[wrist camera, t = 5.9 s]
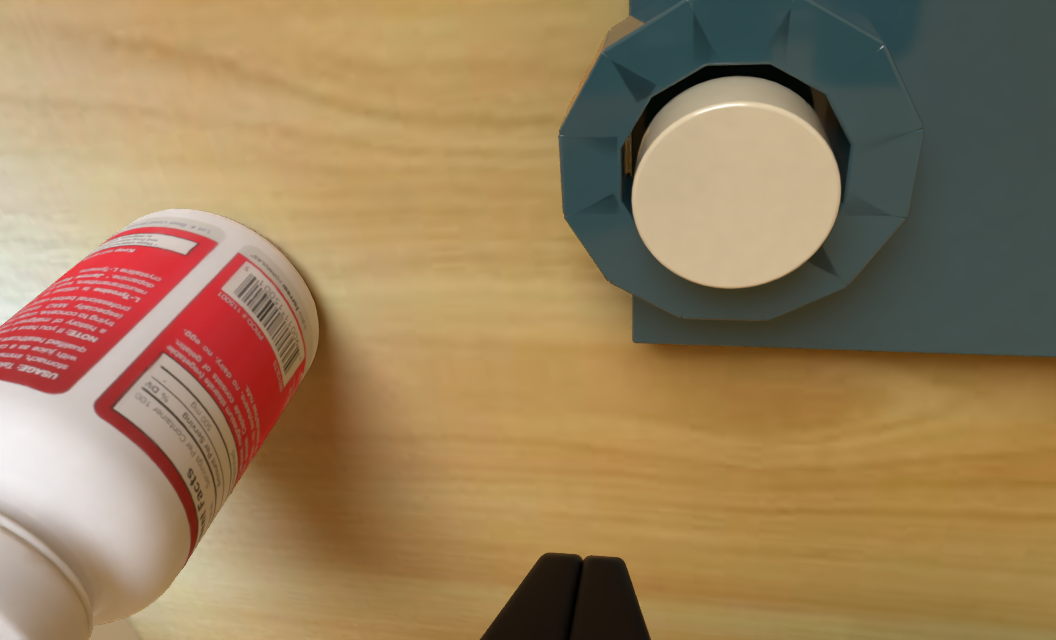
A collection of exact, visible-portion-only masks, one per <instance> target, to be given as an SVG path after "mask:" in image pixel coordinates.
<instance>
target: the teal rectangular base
mask: <svg viewBox="0 0 1056 640" xmlns="http://www.w3.org/2000/svg"><path fill="white" fill-rule="evenodd" d="M729 76H751V77H757V78H763V79H766V80H770V81H773V82H776V83H778V84H780V85H783V86H785V87H787V88H789V89H790V90H792V91H793V92H795V93H796V94H798V95H799V96H800V97H801V98H803V99H804V100H805V101H806V102H807V103H808V104H809V105H810V106H811V107H812V109H813V110H814V111H815V112H816V113H817V115H818V117H819V118H820V120H821V122H822V123H823V126H824V128H825V130H826V133H827V135H828V138H829V141H830V144H831V147H832V150H833V152H834V155H835V158H836V161H837V164H838V168H839V172H840V177H841V188H842V189H841V202H840V207H839V211H838V215H837V218H836V220H835V223H834V226H833V227H832V229H831V231H830V233H829V235H828V237H827V238H826V240H825V241H824V242H823V244H822V245H821V247H820V248H819V249H818V250H817V251H816V252H815V253H814V254H813V255H812V256H811V257H810V258H809V259H808V260H807V261H806V262H805V263H803V264H802V265H801V266H800V267H798V268H797V269H795V270H794V271H792V272H791V273H789V274H787V275H785V276H783V277H781V278H779V279H776V280H774V281H771V282H768V283H766V284H762V285H758V286H754V287H747V288H736V289H725V288H714V287H709V286H704V285H700V284H697V283H694V282H691V281H689V280H687V279H684V278H682V277H680V276H678V275H677V274H675V273H673V272H672V271H670V270H669V269H668V268H666V267H665V266H664V265H662V264H661V263H660V262H659V261H658V260H657V259H656V258H655V257H654V256H653V255H652V254H651V252H650V251H649V250H648V248H647V247H646V246H645V244H644V243H643V241H642V239H641V237H640V235H639V233H638V231H637V228H636V225H635V222H634V218H633V213H632V203H631V197H632V185H633V179H634V173H635V167H636V160H637V155H638V151H639V147H640V144H641V141H642V138H643V136H644V134H645V132H646V130H647V128H648V126H649V124H650V123H651V122H652V120H653V119H654V117H655V116H656V115H657V113H658V112H659V111H660V110H661V109H662V108H663V107H664V106H665V105H666V104H667V103H668V102H670V101H671V100H672V99H673V98H674V97H676V96H677V95H679V94H680V93H682V92H683V91H685V90H687V89H689V88H691V87H693V86H695V85H697V84H700V83H702V82H705V81H708V80H712V79H716V78H721V77H729ZM629 135H630V148H631V176H630V174H629V173H628V143H627V139H628V137H629ZM558 139H559V156H560V173H561V191H562V208H563V213H564V218H565V220H566V221H567V223H568V224H569V226H570V227H571V229H572V230H573V231H574V233H575V234H576V236H577V237H578V239H579V240H580V242H581V243H582V245H583V246H584V248H585V249H586V250H587V252H588V253H589V255H590V256H591V258H592V259H593V261H594V262H595V264H596V265H597V266H598V268H599V269H600V271H601V272H602V274H603V275H604V277H605V278H606V280H607V281H609V282H610V283H611V284H613V285H615V286H617V287H619V288H621V289H623V290H625V291H627V292H629V293H631V294H632V340H633V342H634V343H648V344H677V345H707V346H737V347H766V348H796V349H826V350H855V351H885V352H914V353H944V354H974V355H1003V356H1033V357H1056V0H629V17H628V18H626V19H625V20H623V21H621V22H620V23H618V24H617V25H615V26H614V27H612V28H611V30H609V31H608V32H607V34H606V36H605V38H604V40H603V42H602V44H601V45H600V47H599V49H598V51H597V53H596V55H595V57H594V59H593V61H592V62H591V64H590V66H589V68H588V70H587V72H586V74H585V76H584V78H583V79H582V81H581V83H580V85H579V87H578V89H577V91H576V93H575V95H574V96H573V98H572V100H571V102H570V104H569V106H568V109H567V112H566V114H565V117H564V119H563V122H562V124H561V127H560V129H559V136H558Z"/></svg>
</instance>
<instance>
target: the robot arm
mask: <svg viewBox="0 0 1056 640" xmlns="http://www.w3.org/2000/svg"><path fill="white" fill-rule="evenodd" d="M480 640H651V639H650V636H649V633H648V630H647V627H646V624H645V621H644V618H643V615H642V612H641V609H640V606H639V603H638V600H637V597H636V594H635V591H634V588H633V585H632V582H631V579H630V576H629V573H628V570H627V567H626V564H625V562H624V561H623V560H622V559H621V558H618V557H606V556H592V555H591V556H587V557H586V558H585V559H584V561H583V559H582V557H580V556H579V555H576V554H564V553H546V554H544V555H542V556H541V557H540V558H539V560H538V561H537V562H536V564H535V565H534V566H533V568H532V569H531V570H530V572H529V573H528V575H527V576H526V577H525V579H524V580H523V581H522V583H521V584H520V585H519V587H518V588H517V590H516V591H515V592H514V594H513V595H512V596H511V598H510V599H509V601H508V602H507V603H506V605H505V606H504V607H503V609H502V610H501V612H500V613H499V614H498V616H497V617H496V618H495V620H494V621H493V623H492V624H491V625H490V627H489V628H488V629H487V631H486V632H485V633H484V635H483V636H482V638H481V639H480Z"/></svg>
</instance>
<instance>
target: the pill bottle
mask: <svg viewBox="0 0 1056 640" xmlns="http://www.w3.org/2000/svg"><path fill="white" fill-rule="evenodd" d="M318 339H319V324H318V316H317V311H316V306H315V303H314V300H313V298H312V296H311V293H310V291H309V289H308V287H307V286H306V284H305V282H304V280H303V279H302V277H301V276H300V274H299V273H298V272H297V270H296V269H295V267H294V266H293V265H292V264H291V263H290V261H289V260H288V259H287V258H286V257H285V256H284V255H283V254H282V253H281V252H280V251H279V250H278V249H277V248H276V247H275V246H274V245H272V244H271V243H270V242H269V241H267V240H266V239H265V238H263V237H262V236H260V235H259V234H257V233H256V232H254V231H253V230H251V229H249V228H247V227H246V226H244V225H242V224H240V223H238V222H236V221H233V220H231V219H228V218H226V217H223V216H220V215H217V214H214V213H209V212H205V211H199V210H193V209H169V210H162V211H158V212H154V213H151V214H148V215H145V216H143V217H141V218H138V219H136V220H135V221H133V222H131V223H130V224H128V225H127V226H125V227H124V228H122V229H121V230H120V231H118V232H117V233H115V234H114V235H112V236H111V237H110V238H109V239H107V240H106V241H105V242H104V243H103V244H101V245H100V246H99V247H98V248H96V249H95V250H94V251H93V252H92V253H90V254H89V255H88V256H87V257H86V258H84V259H83V260H82V261H81V262H79V263H78V264H77V265H75V266H74V267H73V268H72V269H71V270H69V271H68V272H67V273H66V274H64V275H63V276H62V277H61V278H59V279H58V280H57V281H56V282H55V283H53V284H52V285H51V286H49V287H48V288H47V289H46V290H45V291H44V292H42V293H41V294H40V295H38V296H37V297H36V298H35V299H34V300H33V301H31V302H30V303H29V304H28V305H26V306H25V307H24V308H22V309H21V310H20V311H19V312H17V313H16V314H15V315H14V316H13V317H12V318H10V319H9V320H8V321H7V322H5V323H4V324H3V325H2V326H0V640H88V639H89V638H90V636H91V633H92V630H93V626H95V625H101V624H106V623H110V622H114V621H117V620H120V619H124V618H126V617H129V616H131V615H133V614H135V613H137V612H139V611H141V610H142V609H144V608H146V607H147V606H149V605H150V604H151V603H153V602H154V601H155V600H156V599H158V598H159V597H160V596H161V595H162V594H163V593H164V592H165V591H166V590H167V589H168V588H169V586H170V585H171V583H172V582H173V581H174V579H175V578H176V576H177V575H178V574H179V573H180V571H181V570H182V569H183V568H184V566H185V565H186V563H187V561H188V559H189V557H190V556H191V555H192V553H193V551H194V550H195V548H196V547H197V545H198V543H199V542H200V540H201V538H202V537H203V536H204V534H205V533H206V531H207V529H208V528H209V526H210V524H211V523H212V521H213V520H214V518H215V517H216V515H217V513H218V512H219V510H220V509H221V507H222V506H223V504H224V503H225V501H226V499H227V498H228V497H229V495H230V494H231V493H232V491H233V489H234V487H235V486H236V484H237V483H238V481H239V480H240V478H241V477H242V475H243V473H244V472H245V470H246V469H247V467H248V465H249V464H250V462H251V461H252V459H253V458H254V456H255V455H256V453H257V451H258V450H259V448H260V447H261V445H262V443H263V442H264V440H265V439H266V437H267V435H268V434H269V432H270V431H271V429H272V428H273V426H274V425H275V423H276V422H277V420H278V418H279V416H280V415H281V413H282V412H283V410H284V409H285V407H286V406H287V404H288V403H289V401H290V399H291V398H292V396H293V395H294V393H295V392H296V390H297V388H298V386H299V385H300V383H301V381H302V380H303V378H304V376H305V375H306V373H307V371H308V370H309V368H310V366H311V364H312V362H313V359H314V357H315V354H316V350H317V346H318Z"/></svg>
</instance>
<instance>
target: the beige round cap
mask: <svg viewBox="0 0 1056 640" xmlns="http://www.w3.org/2000/svg"><path fill="white" fill-rule="evenodd" d="M841 189H842V188H841V177H840V172H839V168H838V164H837V161H836V158H835V155H834V152H833V150H832V147H831V144H830V141H829V138H828V135H827V133H826V130H825V128H824V126H823V123H822V122H821V120H820V118H819V117H818V115H817V113H816V112H815V111H814V110H813V109H812V107H811V106H810V105H809V104H808V103H807V102H806V101H805V100H804V99H803V98H801V97H800V96H799V95H798V94H796V93H795V92H793V91H792V90H790V89H789V88H787V87H785V86H783V85H780V84H778V83H776V82H773V81H770V80H766V79H763V78H757V77H751V76H729V77H721V78H716V79H712V80H708V81H705V82H702V83H700V84H697V85H695V86H693V87H691V88H689V89H687V90H685V91H683V92H682V93H680V94H679V95H677V96H676V97H674V98H673V99H672V100H671V101H670V102H668V103H667V104H666V105H665V106H664V107H663V108H662V109H661V110H660V111H659V112H658V113H657V115H656V116H655V117H654V119H653V120H652V122H651V123H650V124H649V126H648V128H647V130H646V132H645V134H644V136H643V138H642V141H641V144H640V147H639V151H638V155H637V160H636V167H635V173H634V179H633V185H632V197H631V203H632V213H633V218H634V222H635V225H636V228H637V231H638V233H639V235H640V237H641V239H642V241H643V243H644V244H645V246H646V247H647V248H648V250H649V251H650V252H651V254H652V255H653V256H654V257H655V258H656V259H657V260H658V261H659V262H660V263H661V264H662V265H664V266H665V267H666V268H668V269H669V270H670V271H672V272H673V273H675V274H677V275H678V276H680V277H682V278H684V279H687V280H689V281H691V282H694V283H697V284H700V285H704V286H709V287H714V288H725V289H736V288H747V287H754V286H758V285H762V284H766V283H768V282H771V281H774V280H776V279H779V278H781V277H783V276H785V275H787V274H789V273H791V272H792V271H794V270H795V269H797V268H798V267H800V266H801V265H802V264H803V263H805V262H806V261H807V260H808V259H809V258H810V257H811V256H812V255H813V254H814V253H815V252H816V251H817V250H818V249H819V248H820V247H821V245H822V244H823V242H824V241H825V240H826V238H827V237H828V235H829V233H830V231H831V229H832V227H833V226H834V223H835V220H836V218H837V215H838V211H839V207H840V202H841Z"/></svg>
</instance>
